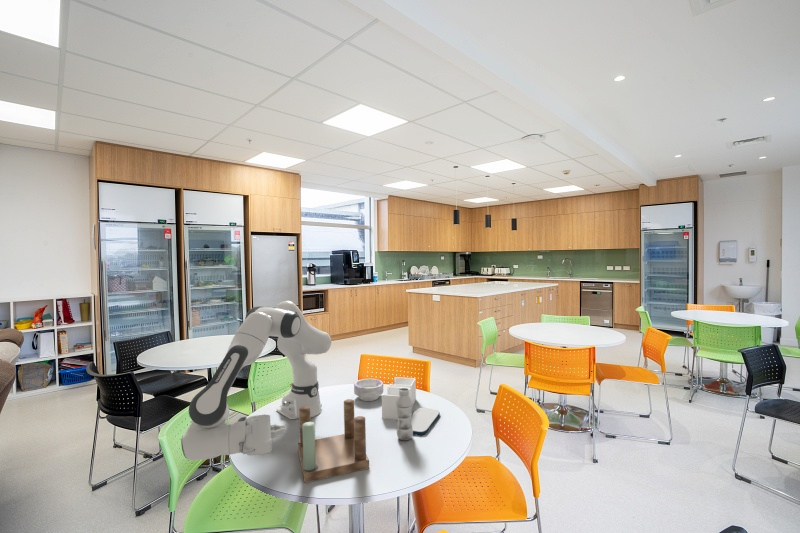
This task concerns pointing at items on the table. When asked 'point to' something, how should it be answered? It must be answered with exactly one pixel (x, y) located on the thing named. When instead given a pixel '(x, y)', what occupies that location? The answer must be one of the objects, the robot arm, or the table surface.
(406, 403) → the plastic bottle
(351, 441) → the stool
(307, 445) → the green piece
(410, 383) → the storage container
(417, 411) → the external hard drive
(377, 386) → the light grey bowl
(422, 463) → the table surface
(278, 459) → the table surface
